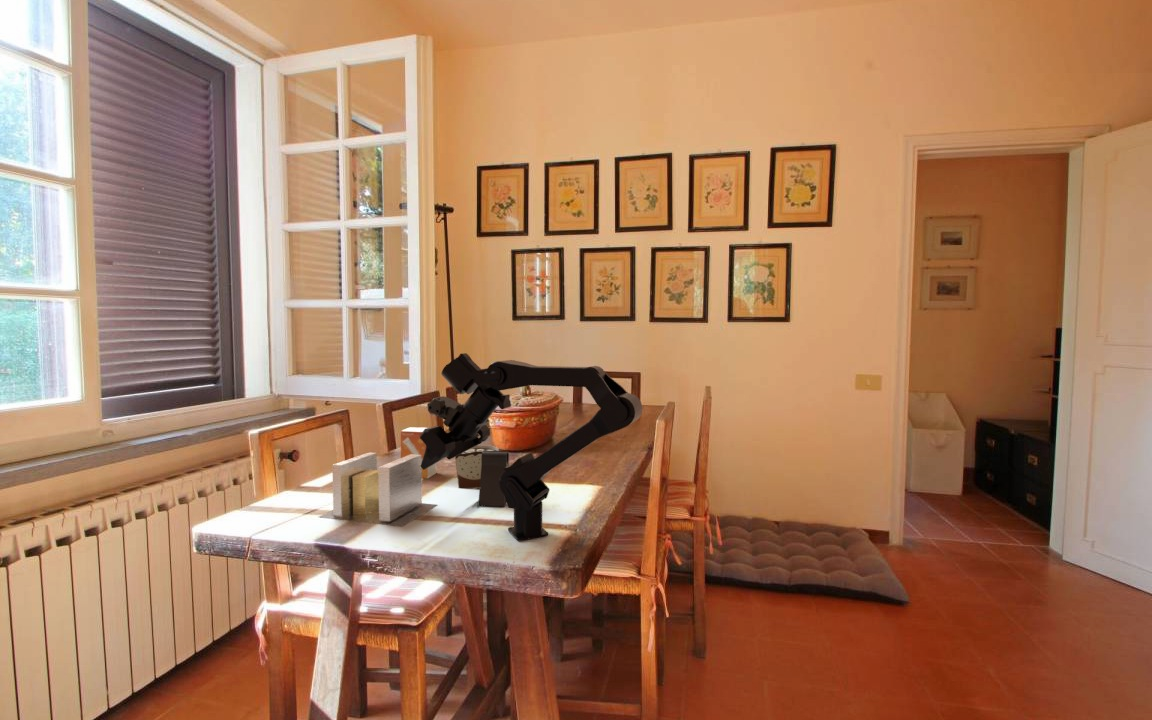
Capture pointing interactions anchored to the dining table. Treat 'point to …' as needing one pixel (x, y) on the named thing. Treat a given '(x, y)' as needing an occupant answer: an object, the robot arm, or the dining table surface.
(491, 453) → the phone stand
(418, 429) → the small box
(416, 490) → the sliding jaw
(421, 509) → the vise base
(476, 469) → the brown cake slice
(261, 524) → the dining table surface
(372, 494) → the brass block
